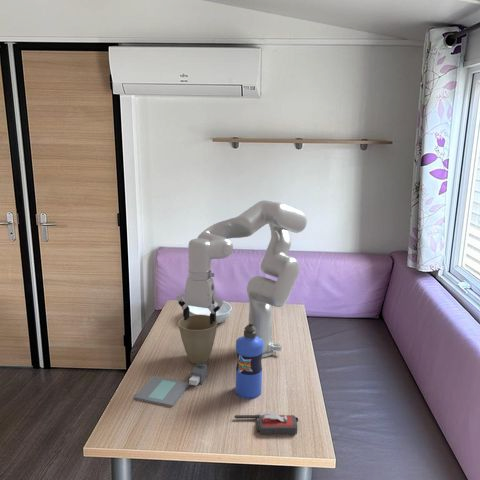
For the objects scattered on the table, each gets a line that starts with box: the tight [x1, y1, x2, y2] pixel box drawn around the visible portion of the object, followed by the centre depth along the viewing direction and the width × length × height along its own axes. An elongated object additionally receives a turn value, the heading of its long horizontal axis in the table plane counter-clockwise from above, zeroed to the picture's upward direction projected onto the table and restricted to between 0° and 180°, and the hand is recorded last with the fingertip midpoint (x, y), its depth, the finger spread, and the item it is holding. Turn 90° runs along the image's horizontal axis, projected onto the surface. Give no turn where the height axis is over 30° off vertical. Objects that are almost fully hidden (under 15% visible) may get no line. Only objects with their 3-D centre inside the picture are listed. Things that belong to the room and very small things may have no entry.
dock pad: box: [133, 375, 190, 408], centre depth 160 cm, size 14×14×1 cm
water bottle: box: [235, 323, 264, 400], centre depth 159 cm, size 9×9×25 cm
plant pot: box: [178, 314, 218, 365], centre depth 181 cm, size 15×15×16 cm
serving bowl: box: [188, 300, 233, 324], centre depth 218 cm, size 21×21×7 cm
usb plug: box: [188, 363, 208, 386], centre depth 167 cm, size 10×4×4 cm, turn 163°
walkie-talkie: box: [234, 411, 299, 436], centre depth 143 cm, size 9×4×20 cm
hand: (199, 320), depth 163 cm, fingers open, 9 cm apart
